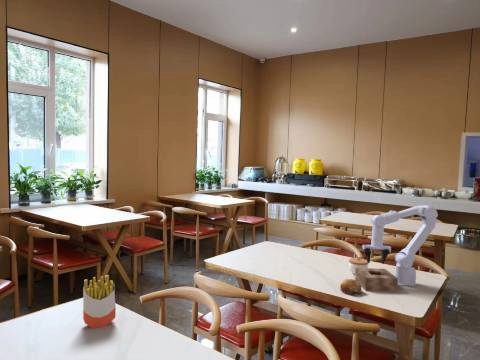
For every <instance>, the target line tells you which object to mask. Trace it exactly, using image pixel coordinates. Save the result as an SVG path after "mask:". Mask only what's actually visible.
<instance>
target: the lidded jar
mask: <svg viewBox="0 0 480 360" xmlns="http://www.w3.org/2000/svg"><path fill="white" fill-rule="evenodd" d="M348 268H349V271H350V272H351V273H352V274H353V275H354V276H355V274H356V268H369V263H368V262H367V259H364V258H360V257H353V258H352V257H350V258H349V259H348Z"/></svg>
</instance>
